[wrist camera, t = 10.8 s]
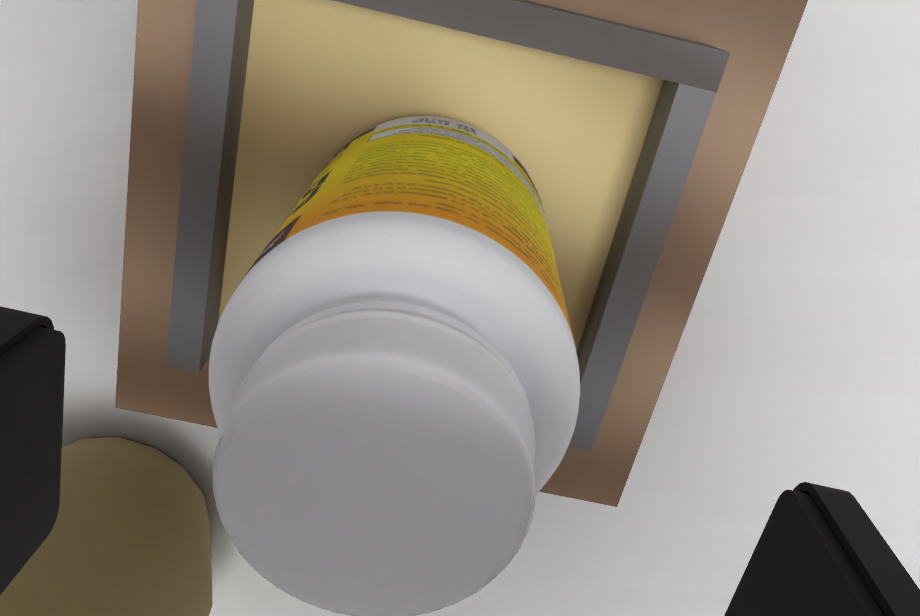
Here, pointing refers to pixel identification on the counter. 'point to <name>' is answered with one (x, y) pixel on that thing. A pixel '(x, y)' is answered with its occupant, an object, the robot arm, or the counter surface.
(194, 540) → the squeeze bottle
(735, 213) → the counter surface
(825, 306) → the counter surface
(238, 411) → the supplement bottle
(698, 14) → the frame
